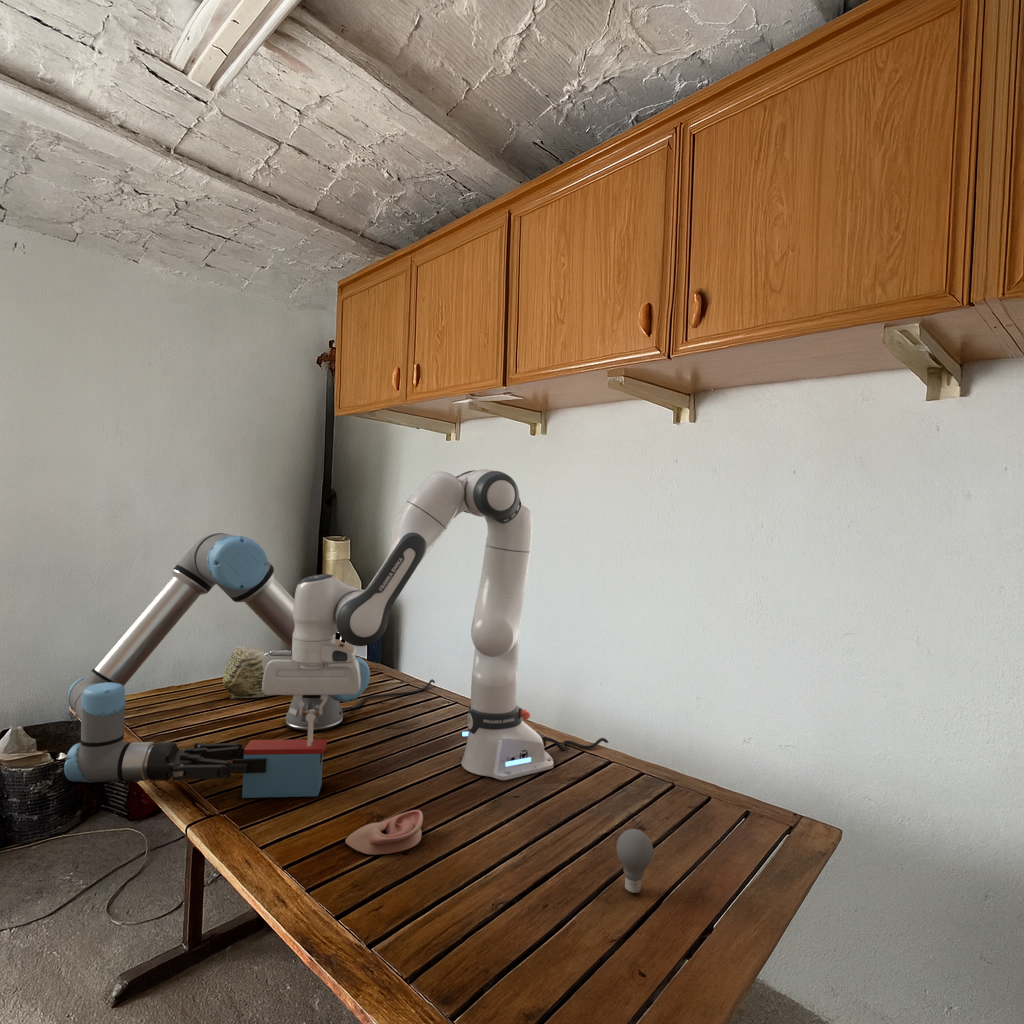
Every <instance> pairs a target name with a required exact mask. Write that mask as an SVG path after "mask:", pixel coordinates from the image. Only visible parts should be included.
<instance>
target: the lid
mask: <svg viewBox="0 0 1024 1024" xmlns="http://www.w3.org/2000/svg"><path fill="white" fill-rule="evenodd" d="M315 716H316V715H315V710H314V709H311V710H310V711H309V712H308V714H307V716H306V720H307V721H308V732H307V739H250V740H249V742H248V743H247V745H246V746H245V747H246V748H245V749H244V755H257V754H323V755H324V753H325V751H326V748H327V746H328V739H327V738H325V739H324V738H323V739H322V738H319V739H317V738H315V739H314V732H313V724H314V718H315Z"/></svg>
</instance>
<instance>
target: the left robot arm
mask: <svg viewBox="0 0 1024 1024" xmlns="http://www.w3.org/2000/svg"><path fill="white" fill-rule="evenodd" d="M275 571H276V570H275V567H274V566H273V565H272V564H271V562H269V560H268V556H267V553H266V551H265V549H264V547H262V546H261V545H260V544H259V543H257V542H256V541H255V540H254V539H251V538H249V537H247V536H243V535H235V534H233V535H232V534H229V533H225V532H215V533H211V534H208V535H205V536H204V537H202V538H201V539H199V540H198V541H197V542H196V543H195V544H193V546H192V547H190V549H189V550H188V551H187V552H186V553H185V554H184V556H183V557H182V558H181V559H180V561H178V563H176V564H175V566H174V567H173V568H172V570H171V572H172V573H171V574H172V577H171V578H170V579H169V580H168V581H167V583H166V584H165V585H164V586H163V587H162V588H161V590H160V591H159V592H157V594H156V595H155V596H154V597H153V599H152V600H151V601H150V602H149V603H148V605H146V607H145V608H144V609H143V610H142V611H141V613H140V614H139V615H137V617H136V618H135V619H134V621H133V622H132V623H131V624H130V625H129V626H128V628H126V630H125V631H124V632H123V633H122V635H121V636H120V637H119V638H118V639H117V640H116V642H115V643H114V644H113V645H112V646H111V647H110V648H109V650H108V651H107V652H106V653H105V654H104V655H103V657H102V658H101V659H100V660H99V661H98V662H97V664H96V665H95V666H94V667H93V668H92V669H91V670H90V671H89V672H88V674H87V675H86V676H83V677H80V678H78V679H77V680H75V681H74V682H73V683H72V684H71V686H70V687H69V689H68V691H67V700H68V704H69V707H70V709H71V710H72V711H73V712H74V713H75V714H76V715H75V716H77V717H78V719H79V721H80V742H79V743H78V742H77V743H75V744H73V745H72V746H71V748H69V750H68V752H67V754H66V757H65V762H64V765H63V770H64V771H63V772H64V775H65V777H66V779H67V780H68V781H70V782H73V783H75V782H77V783H89V784H93V783H111V782H133V783H135V784H137V783H139V782H146V781H148V780H149V781H151V782H163V781H169V780H172V781H182V780H224V779H226V780H228V779H231V778H232V774H243V773H265V772H266V758H264V759H244V749H245V748H246V746H245V747H244V746H243V742H227V743H225V742H223V743H202V742H196V743H194V744H193V747H187V748H183V749H180V748H179V747H178V745H177V743H176V742H174V741H157V742H156V743H155V742H154V741H138V742H137V741H134V742H133V741H132V742H131V741H130V742H125V740H124V739H125V719H126V717H125V716H126V703H127V699H126V688H125V686H126V684H127V683H128V682H129V681H130V679H132V677H133V676H134V675H135V673H137V671H138V670H139V669H140V668H141V667H142V665H143V664H144V663H145V662H146V661H147V660H148V658H149V657H150V656H151V655H152V653H153V652H154V651H155V650H156V649H157V647H158V646H159V645H160V644H161V643H162V641H163V640H164V639H165V638H166V637H167V636H168V634H169V633H170V632H171V631H172V630H173V628H174V627H175V626H176V625H177V624H178V623H179V621H180V620H181V619H182V618H183V616H184V615H185V614H186V613H187V612H188V611H189V609H190V608H191V607H192V606H193V605H194V603H195V602H196V601H197V600H198V599H199V598H200V596H202V595H206V594H208V593H209V592H210V591H211V590H212V588H214V586H217V587H219V588H220V589H221V590H222V591H223V592H224V593H225V594H226V595H227V596H228V598H230V599H231V600H232V602H234V603H244V604H245V605H247V607H248V608H249V609H250V610H251V611H252V612H253V613H255V615H256V616H257V617H258V618H259V619H260V620H261V621H262V622H263V623H264V624H265V625H266V626H267V627H268V628H269V629H270V630H271V631H272V632H273V633H274V634H275V635H276V636H277V637H278V638H279V639H280V640H281V641H282V643H284V645H286V646H287V647H288V648H289V650H292V636H293V632H294V629H295V623H294V619H293V609H294V597H293V596H292V595H290V593H289V592H288V591H287V590H286V589H285V588H284V587H283V586H282V585H281V583H280V582H279V581H278V580H277V579H276V577H275ZM335 640H337V641H340V642H342V641H341V639H336V638H335ZM355 658H356V659H357V661H358V663H359V667H360V676H361V687H360V691H359V692H358V693H357V694H356V695H329V697H328V699H327V701H326V703H325V704H324V706H323V714H322V715H316V716H315V718H314V724H313V733H316V732H325V731H329V730H332V729H335V728H337V727H339V726H340V725H342V723H343V722H344V714H343V711H348V710H355V709H358V708H360V707H361V705H362V704H363V702H364V701H368V700H370V699H376V698H383V697H384V698H385V697H392V696H393V697H394V696H405V695H412V694H415V693H416V694H417V693H420V692H423V691H425V690H426V689H428V688H429V687H430V686H431V684H432V683H433V684H435V683H436V681H435V680H434V679H433V678H432V679H430V680H429V681H428V684H426V686H423V687H422V688H418V689H415V690H409V691H403V692H390V693H383V694H375V695H369V696H365V697H363V698H362V699H361V700H360V701H359V702H358V704H356V705H353V706H346V707H342V706H341V703H350V702H353V701H355V700H357V699H358V698H359V697H361V695H362V694H363V693H364V692H365V691H366V690H367V688H368V685H369V683H370V676H371V670H370V667H369V665H368V663H367V662H366V661H365V660H364V659H363V658H361V657H359V656H356V655H355ZM292 696H293V697H292V699H291V702H290V704H289V708H288V711H287V713H286V715H285V726H286V728H287V729H289V730H291V731H294V732H295V731H296V732H301V733H308V721H307V720H306V716H307V715H300V708H299V706H298V705H297V703H296V701H295V695H292ZM302 701H303V703H304V705H308V712H309V711H310V710H311V709H314V710H315V707H316V705H320V704H321V702H322V701H323V700H321V695H303V697H302Z"/></svg>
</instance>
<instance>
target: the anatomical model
mask: <svg viewBox="0 0 1024 1024" xmlns="http://www.w3.org/2000/svg"><path fill="white" fill-rule="evenodd" d="M423 814H424V813H423V812H422V810H420V809H411V810H409V811H404V812H401V813H398V814H396V815H393V816H391V817H388V818H387V819H385V820H382V821H380V822H371V823H368V824H365V825H363V826H361V827H359V828H357V829H356V830H355V831H353V832H352V833H351V834H349V835H348V836H347V837H346V838H345V842H344V843H345V844H346V845H347V846H349V847H350V848H351V849H353V850H355V851H357V852H360V853H362V854H365V855H368V856H369V855H370V856H376V855H387V854H393V853H399V852H403V851H406V850H409V849H411V848H413V847H415V846H416V845H418V844H419V843H420V841H421V840H422V835H423V834H422V832H423V831H422V828H421V827H422V826H423V822H424V815H423Z"/></svg>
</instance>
